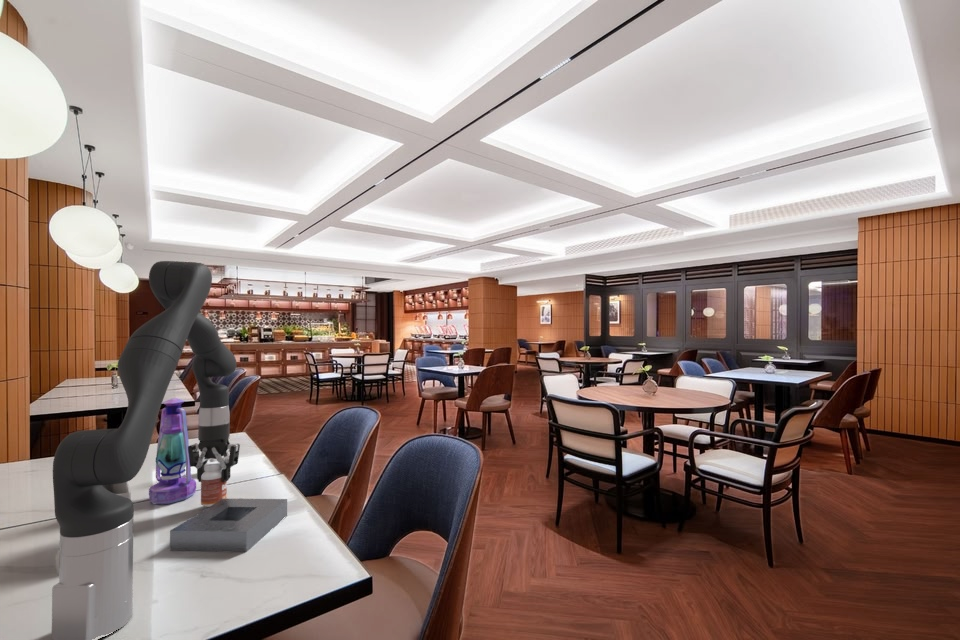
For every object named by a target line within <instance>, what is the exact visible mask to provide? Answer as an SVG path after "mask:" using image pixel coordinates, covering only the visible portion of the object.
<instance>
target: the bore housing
mask: <svg viewBox="0 0 960 640" xmlns="http://www.w3.org/2000/svg"><path fill="white" fill-rule="evenodd" d="M285 516H286V517H288V499H287V498H227V499H221V500H219V501H218V502H216V503H215V504H213V505H211V506H207V507H206V508H205V509H203V510H202V511H200V512H199V513H197V514H194V515H193V516H192V517H190V518H189V519H187V520H185V521H183V522H182V523H180V524H179V525H177V526H176V527H174V528H172V529H170V531H169V551H173V552H175V551H176V552H229V553H230V552H237V553H238V552H242V553H244V552H245V553H247V552H248V551H249V550H251V548H252V547H254V546H255V545H256V544H257V543H259V541H261V540H262V539H263V538H264V537H265V536H266V535H267V534H268V533H269V532H271V531H270V530H271V529H272V528H273V529H274V528H275V527H276V526H278V525H279V524H280V523H281V522H282V521H283V520H284V519H285V518H286V517H285ZM284 517H285V518H284ZM283 518H284V519H283ZM282 519H283V520H282ZM281 520H282V521H281ZM280 521H281V522H280ZM279 522H280V523H279ZM278 523H279V524H278ZM273 529H272V530H273Z"/></svg>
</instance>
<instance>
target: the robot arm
mask: <svg viewBox="0 0 960 640" xmlns="http://www.w3.org/2000/svg"><path fill="white" fill-rule="evenodd" d="M148 274H149V275H148V283H149V288H150V289H151V291H152V294H153V295H154V297H155V298H156V299H157V301H158V302H159V304H160V305H161V306H162V307H163V308H164V309H165V310H164V311H162V312H160V313H159V314H157V315H155V316H154V317H152V318H151V319H150V320H148V321H146V322H145V323H144V324H142V325H140V327H138V328H137V329H136V330H134V332H133V333H132V334H131V336H129V338H128V341H126V344H125V346H124V349H123V350H122V353H121V354H120V356H119V359H118V362H117V373H118V376H119V380H120V383H121V384H122V387H123V389H124V391H125V394H126V397H127V402H128V403H127V409H126V411H125V412H126V413H125V415H124V418H123V421H122V423H120V425H119V426H118V428H102V429H99V428H98V429H86V430H85V429H84V430H83V429H82V430H77V431H74V432H71V433H69V434H68V435H67V436H65V437H64V438H63V439H62V440H61V441H60V443H59V444H58V446H57V448H56V450H55V453H54V455H53V456H54V457H53V462H52V484H53V485H52V486H53V487H52V489H53V497H54V498H53V501H54V503H53V504H54V517H55V520H56V521H57V523H58V525H59V559H58V560H59V566H58V568H59V569H58V573H59V574H58V583H56V584H54V585H53V586H52V588H51V590H52V591H51V640H92V639H95V638H96V637H98V636H101V635H106V634H109V633H111V632H114V631H116V630H117V631H119V630H120V629H122V628H123V627H124V626H126V624H127V623H128V622H130V620H131V619H132V618H133V612H134V611H133V609H134V608H133V606H134V605H133V604H134V603H133V597H134V595H133V594H134V593H133V591H134V588H133V587H134V586H133V584H134V514H135V513H134V509H135V508H134V502H133V500H132V499H131V500H130V499H128V498H126V497H123V496H119V495H116V494H114V493H112V492H110V491H108V490H107V489H105V488H104V487H103V485H110V484H120V483H125V482H128V483H129V482H130V481H132V479H134V478H135V477H136V476H137V475H138V474H139V472H140V470H141V469H142V467H143V465H144V463H145V461H146V458H147V456H148V453H149V448H150V445H151V442H152V438H153V434H154V430H155V427H156V423H157V419H158V416H159V414H160V409H161V407H162V404H163V402H164V401H163V400H164V398H165V395H166V393H167V390H168V388H169V386H170V383H171V380H172V379H173V376H174V373H175V371H176V369H177V367H178V364H179V362H180V359H181V357H182V354H183V351H184V347H185V344H186V343H187V342H188V345H189V347H190V349H191V351H192V353H193V355H195V356H194V358H193V359H192V364H191V366H192V367H191V368H192V372H193V374H194V378H195V380H196V383H197V389H198V392H199V411H198V424H197V425H198V429H197V430H198V434H197V435H198V437H197V438H198V441H199V442H198V443H197V442H196V443H193V444H191V445H190V444H189V446H188V453H189V462H190V466H191V468H192V467H195V468H196V478H197V481H198V483H201V476H202V474H203V473H204V472H205V470H204V465H205V464H207V463H209V459H210V458H213V459H217V461H218V462H219V463H220V464H221V466H222V468H223V469H222V482H226V481H227V482H228V481H229V479H230V478H231V468H232V467H234V466H235V465H237V464H238V463H239V455H240V449H241V448H240V447H241V444H240V443H235V444H232V443H229V440H228V439H229V435H230V433H231V432H230V428H231V424H230V422H231V420H230V419H231V418H230V417H231V416H230V413H231V412H230V406H229V405H230V404H229V402H230V400H229V399H230V396H229V395H230V391H229V387H228V386H227V385H225V384H220V383H219V384H218V383H215V382H213V381H212V379H211V378H218V377H220V378H221V377H222V378H223V377H224V378H225V377H229V376H231V375H233V373H235V371H236V370H237V364H238V363H237V359H236V357H235V355H234V354H233V352H232V351H231V350H230V349H229V348H228V347H227V346H226V345H225V344H224V342H222V340H221V337H220V336H219V332H218V330H217V327H216V326H215V325H214V324H213V322H212V321H211V320H210V319H209V318H208V317H206V316H205V315H204V314H202V312H201V310H202V308H203V306H204V304H205V302H206V300H207V298H208V297H209V294H210V291H211V288H212V283H213V276H212V271H211V269H210V268H209V267H208V266H207V265H206V264H204V263H200V262H193V261H179V260H178V261H174V260H160V261H156V262H155V263H153V265H152V266H151V267H150V270H149V273H148ZM228 449H229V451H228V452H227V450H228ZM222 456H224V457H222ZM121 627H122V628H121ZM118 629H119V630H118ZM117 631H116V632H117ZM114 633H115V632H114Z"/></svg>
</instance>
